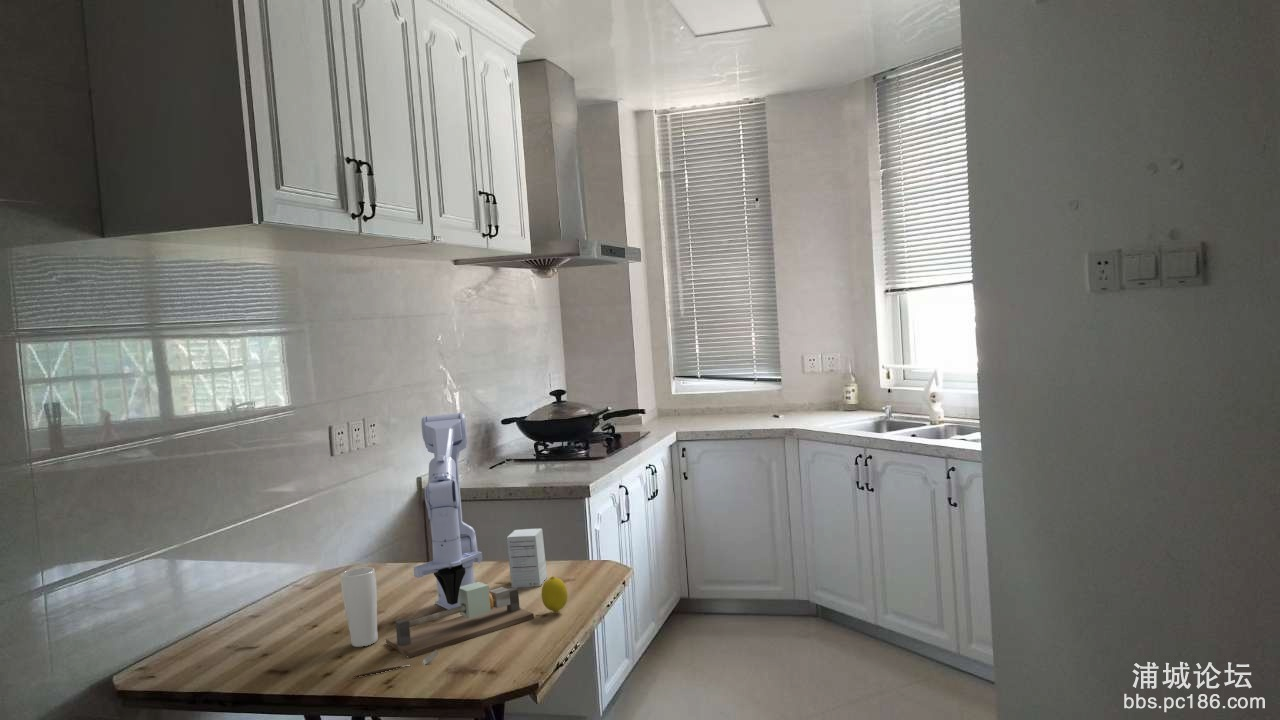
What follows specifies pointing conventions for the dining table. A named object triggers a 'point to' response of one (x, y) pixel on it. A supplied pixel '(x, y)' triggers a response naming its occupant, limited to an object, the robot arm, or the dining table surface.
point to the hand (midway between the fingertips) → (452, 603)
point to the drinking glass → (360, 605)
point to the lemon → (554, 594)
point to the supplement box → (526, 558)
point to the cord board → (458, 624)
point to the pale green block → (474, 599)
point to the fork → (401, 666)
